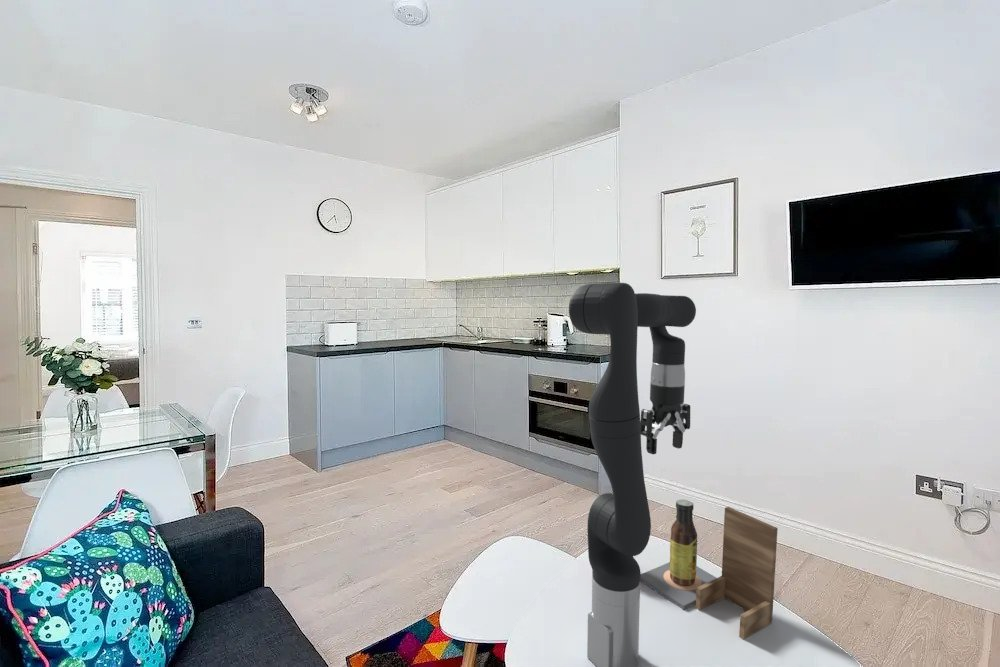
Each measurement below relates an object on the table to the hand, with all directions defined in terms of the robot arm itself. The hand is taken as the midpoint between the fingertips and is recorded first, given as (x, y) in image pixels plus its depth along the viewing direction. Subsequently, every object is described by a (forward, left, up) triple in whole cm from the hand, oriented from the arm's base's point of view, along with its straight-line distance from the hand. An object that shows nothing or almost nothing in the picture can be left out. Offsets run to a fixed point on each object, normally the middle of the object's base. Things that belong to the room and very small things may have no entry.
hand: (664, 450), depth 119 cm
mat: (+8, 0, -36) cm, 37 cm away
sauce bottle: (+8, 0, -35) cm, 36 cm away
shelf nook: (+8, -14, -36) cm, 39 cm away
